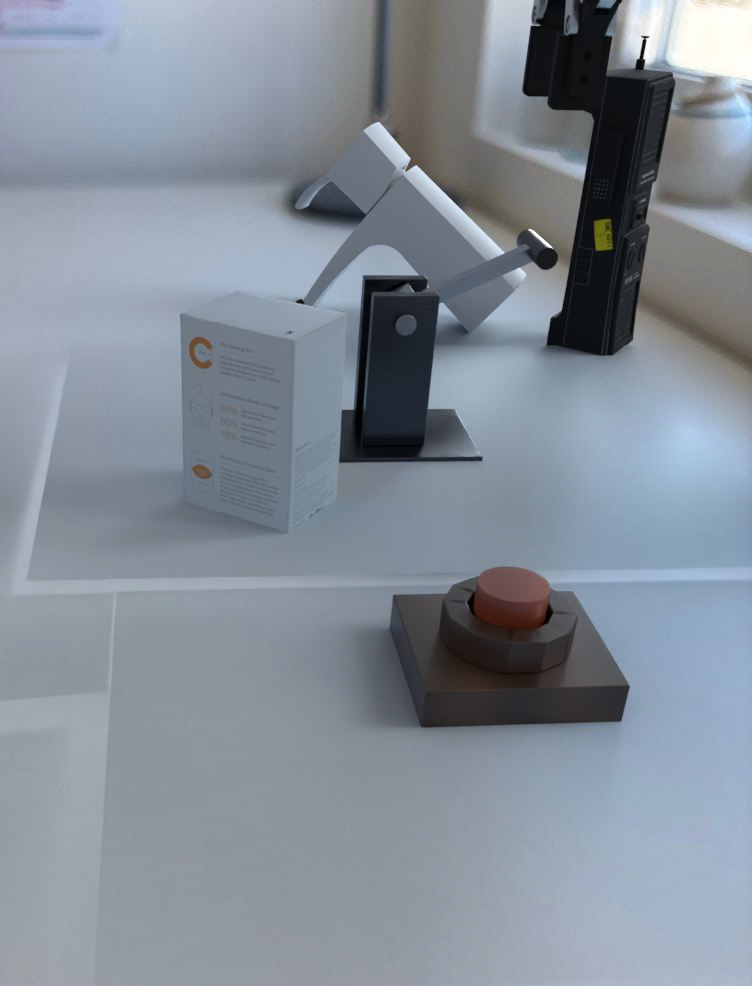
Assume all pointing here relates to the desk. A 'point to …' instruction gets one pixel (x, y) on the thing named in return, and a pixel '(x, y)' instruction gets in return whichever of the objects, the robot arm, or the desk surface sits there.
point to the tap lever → (496, 267)
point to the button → (511, 598)
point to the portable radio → (614, 212)
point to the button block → (504, 664)
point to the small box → (262, 407)
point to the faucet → (409, 225)
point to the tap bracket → (399, 381)
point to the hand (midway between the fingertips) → (559, 99)
